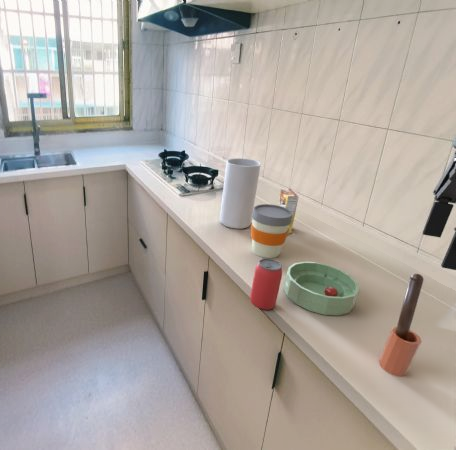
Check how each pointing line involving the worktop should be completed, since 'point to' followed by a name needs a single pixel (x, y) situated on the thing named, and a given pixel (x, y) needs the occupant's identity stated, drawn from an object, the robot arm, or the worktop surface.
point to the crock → (399, 353)
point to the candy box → (288, 203)
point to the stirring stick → (409, 305)
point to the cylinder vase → (239, 192)
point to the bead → (331, 291)
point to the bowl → (320, 288)
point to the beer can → (266, 284)
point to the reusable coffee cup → (269, 229)
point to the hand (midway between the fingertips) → (440, 250)
